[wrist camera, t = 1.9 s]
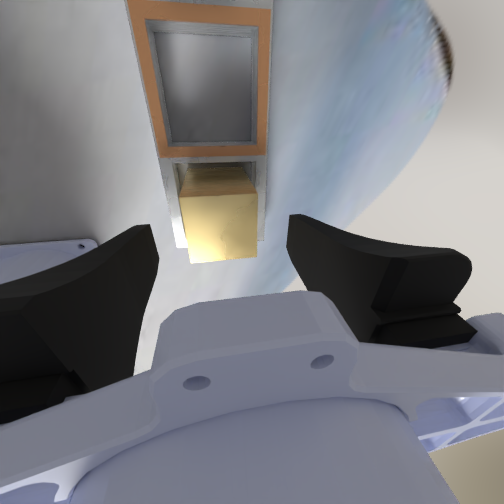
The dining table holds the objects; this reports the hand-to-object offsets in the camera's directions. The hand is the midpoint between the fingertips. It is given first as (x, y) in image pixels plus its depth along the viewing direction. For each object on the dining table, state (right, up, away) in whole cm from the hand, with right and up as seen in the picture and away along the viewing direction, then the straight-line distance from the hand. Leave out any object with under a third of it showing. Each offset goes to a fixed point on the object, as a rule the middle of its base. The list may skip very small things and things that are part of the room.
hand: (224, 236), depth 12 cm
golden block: (-1, +4, +6) cm, 7 cm away
